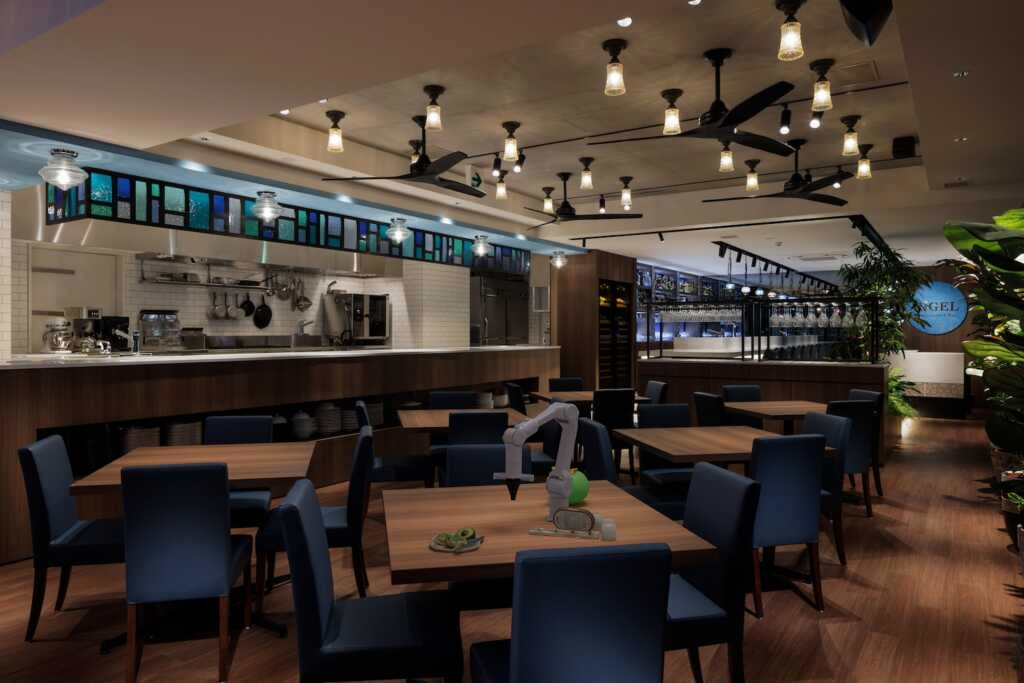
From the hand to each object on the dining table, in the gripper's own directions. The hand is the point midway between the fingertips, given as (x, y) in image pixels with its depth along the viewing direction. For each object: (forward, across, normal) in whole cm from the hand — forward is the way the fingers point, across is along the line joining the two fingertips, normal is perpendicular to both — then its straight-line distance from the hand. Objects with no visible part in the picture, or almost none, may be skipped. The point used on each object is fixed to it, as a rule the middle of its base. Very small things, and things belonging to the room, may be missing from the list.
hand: (513, 499), depth 248 cm
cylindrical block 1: (+10, +29, +8) cm, 32 cm away
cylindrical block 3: (+10, +34, -4) cm, 36 cm away
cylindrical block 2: (+10, +34, +4) cm, 35 cm away
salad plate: (+11, -14, -23) cm, 29 cm away
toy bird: (+11, +14, +44) cm, 47 cm away
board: (+10, +19, -3) cm, 22 cm away
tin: (+11, +22, +2) cm, 24 cm away
